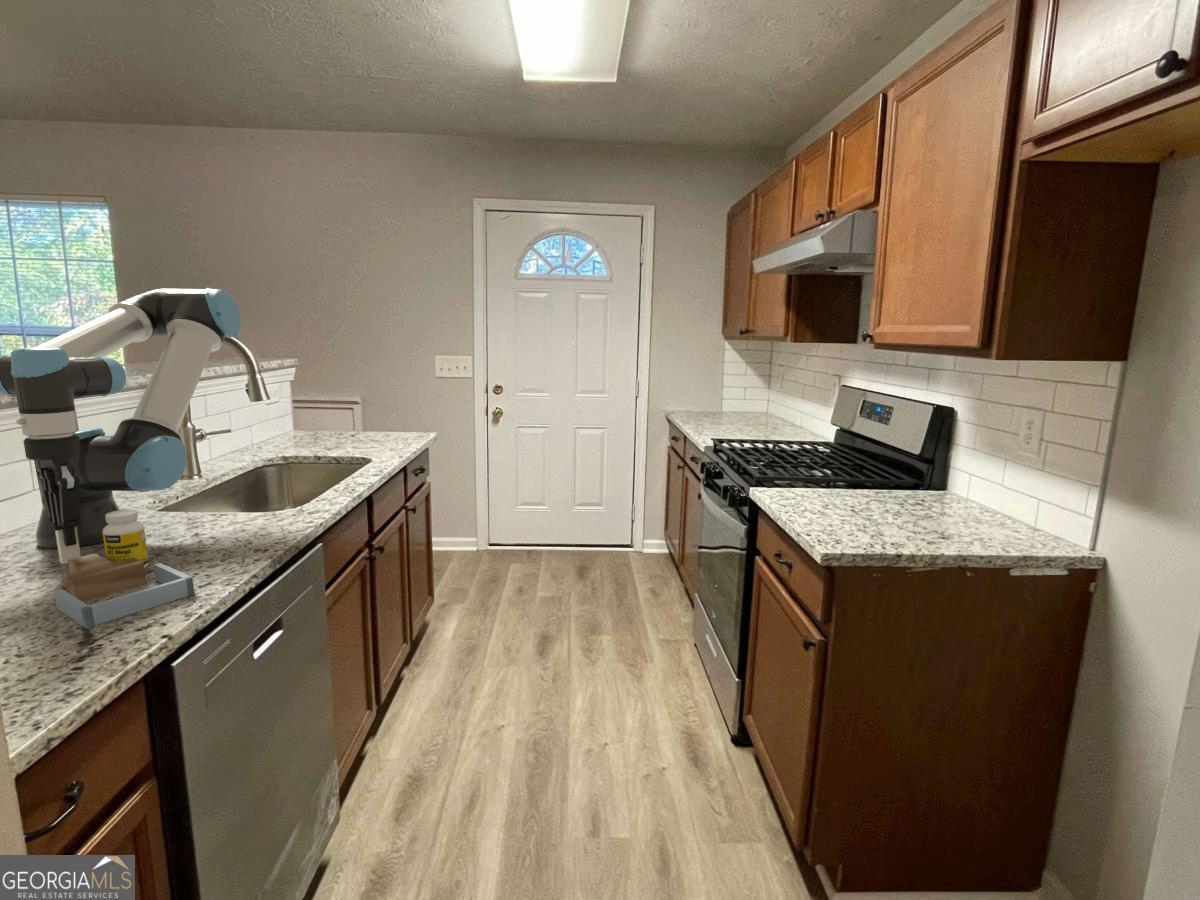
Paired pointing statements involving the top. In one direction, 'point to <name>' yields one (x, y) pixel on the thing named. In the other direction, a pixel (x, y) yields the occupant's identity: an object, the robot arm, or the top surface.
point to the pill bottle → (124, 537)
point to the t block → (102, 576)
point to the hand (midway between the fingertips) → (70, 560)
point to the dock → (127, 599)
